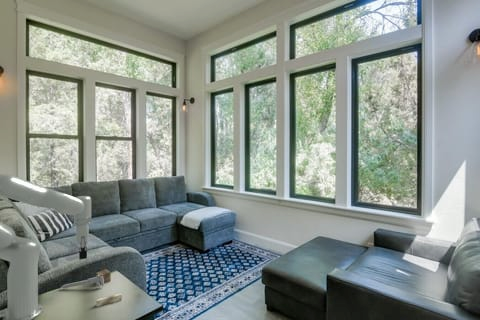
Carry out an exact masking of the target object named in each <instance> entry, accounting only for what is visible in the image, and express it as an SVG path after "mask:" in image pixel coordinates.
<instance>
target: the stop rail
mask: <svg viewBox="0 0 480 320" xmlns="http://www.w3.org/2000/svg"><path fill="white" fill-rule="evenodd" d="M122 299H123V297H122V293H121V292H120V293H117V294H112V295H110V296H104V297H102V298H97V299H96V307H101V306H104V305H108V304H112V303H116V302H120V301H122Z"/></svg>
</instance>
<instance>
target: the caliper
mask: <svg viewBox="0 0 480 320" xmlns="http://www.w3.org/2000/svg"><path fill="white" fill-rule="evenodd" d="M99 281H101V285H100V283H99ZM87 284H88V285H93V284H96V286H97V287H98V288H100V287H104V286H105V284H104V279H103V276H101V274H100V275H98V277H96V276H94V277H91V278H88V279H85V280H81V281H75V282H71V283H66V284H63V285H61V286H60V289H68V288H73V287H76V286H81V285H87Z"/></svg>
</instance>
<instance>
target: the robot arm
mask: <svg viewBox="0 0 480 320" xmlns="http://www.w3.org/2000/svg"><path fill="white" fill-rule="evenodd" d="M0 197H4V198H6V199H7V198H8V199H10V200H14V201H17V202H20V203H24V204H26V205H31V206H34V207H39V208H45V209H51V210H52V209H53V210H54V211H55V212H56V213H58V214H61V215H70V216H73V226H75V227H76V228H75V240H76V241H75V242H76V246H77V247H78V246H79V249H78V250H79V253H78V254H79V256H78V259H79V260H80V261H81V260H85V259H88V250H87V249H88V248H87V245H88V243H89V236H90V235H89V233H90V231H89V230H90V229H89V228H90V226H89V225H91V224H92V198H91V196H89V195H79V196H72V195H69V194H67V193H64V192H60V191H57V190H54V189H52V188H49V187H45V186H42V185H40V184H37V183H34V182H32V181H29V180H26V179H24V178H22V177H19V176H16V175H13V174H2V173H1V174H0ZM40 253H41V248H40V245H39V243H38V242H37V241H35V240H33V239H31V238H25V237H22V236H18V235H17V233H16V232H15V230H14V229H13V228H12V227H11V226H10V225H7V224H6V223H4V222H2V221H1V220H0V259H1V260H3V261H7V262H9V267H8V270H7V277H6V279H7V281H6V282H7V284H6V285H7V287H6V288H7V289H6V291H7V308H6V307H5V308H4V309H1V310H0V319H1V318H2V320H33V319H36V318H37V317H39V315H41V314H42V312H43V310H44V308H43V305H41V304H39V278H38V277H39V275H38V268H39V258H40Z"/></svg>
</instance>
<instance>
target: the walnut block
mask: <svg viewBox="0 0 480 320" xmlns="http://www.w3.org/2000/svg"><path fill="white" fill-rule="evenodd" d="M100 274H101V276H103V279H104V285H105V284H107V283H110V282H111V274H112V273H111V271H109V270H108V269H103V270H101V271H96V276H95V277H98V275H100ZM99 283H100V286H102V285H101V281H99Z"/></svg>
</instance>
